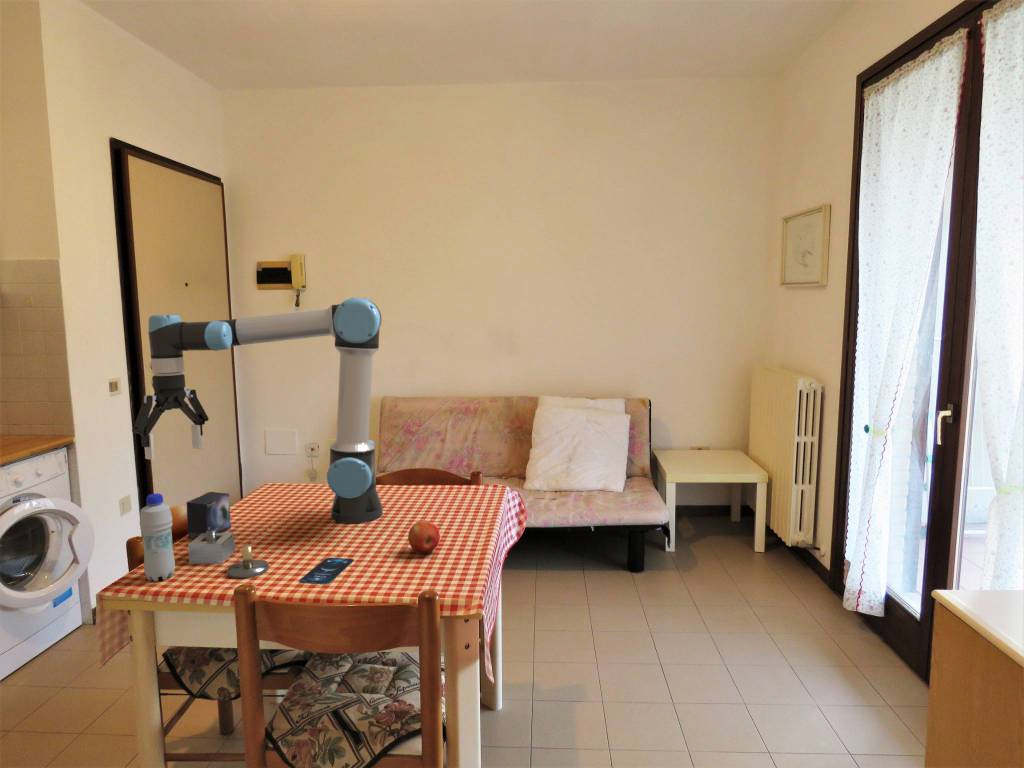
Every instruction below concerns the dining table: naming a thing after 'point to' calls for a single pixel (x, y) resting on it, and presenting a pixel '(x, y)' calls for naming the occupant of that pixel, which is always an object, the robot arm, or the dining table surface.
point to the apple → (423, 537)
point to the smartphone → (326, 571)
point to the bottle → (157, 538)
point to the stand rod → (211, 535)
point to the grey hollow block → (211, 549)
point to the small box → (208, 514)
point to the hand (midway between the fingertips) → (174, 453)
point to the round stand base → (247, 565)
